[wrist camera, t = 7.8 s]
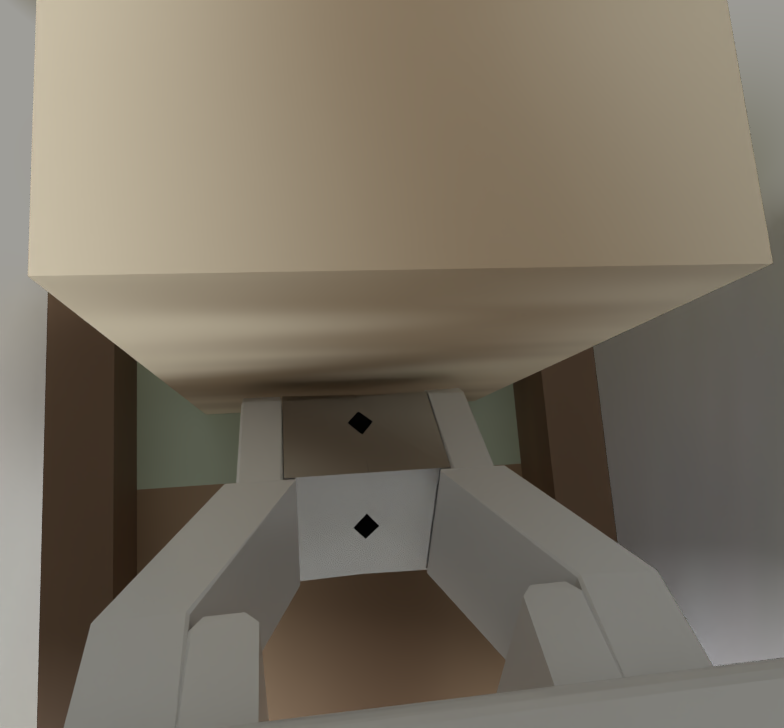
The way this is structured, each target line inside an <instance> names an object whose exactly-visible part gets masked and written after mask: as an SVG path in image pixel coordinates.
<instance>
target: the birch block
mask: <svg viewBox="0 0 784 728" xmlns="http://www.w3.org/2000/svg"><path fill="white" fill-rule="evenodd" d="M35 34H36V35H35V64H34V97H33V127H32V159H31V193H30V222H29V223H30V224H29V254H28V277H30V278H31V279H32V280H33V281H35V282H36V283H37V284H39V285H40V286H41V287H42V288H44V289H45V290H46V291H48V292H49V293H50V294H51V295H53V296H54V297H55V298H57V299H58V300H59V301H60V302H62V303H63V304H64V305H66V306H67V307H68V308H69V309H71V310H72V311H73V312H75V313H76V314H77V315H78V316H80V317H81V318H82V319H84V320H85V321H86V322H87V323H89V324H90V325H91V326H93V327H94V328H95V329H96V330H98V331H99V332H100V333H102V334H103V335H104V336H105V337H107V338H108V339H109V340H111V341H112V342H113V343H114V344H116V345H117V346H118V347H120V348H121V349H122V350H123V351H125V352H126V353H127V354H129V355H130V356H131V357H132V358H134V359H135V360H136V361H138V362H139V363H140V364H141V365H143V366H144V367H145V368H147V369H148V370H149V371H150V372H152V373H153V374H154V375H156V376H157V377H158V378H159V379H161V380H162V381H163V382H165V383H166V384H167V385H168V386H170V387H171V388H172V389H174V390H175V391H176V392H178V393H179V394H180V395H181V396H183V397H184V398H185V399H187V400H188V401H189V402H190V403H192V404H193V405H194V406H196V407H197V408H198V409H199V410H201V411H202V412H203V413H205V414H226V413H241V404H242V402H243V399H244V398H261V397H280V398H281V400H282V396H321V395H368V394H387V393H406V392H424V390H435V389H449V388H460V389H461V390H462V391H464V394H465V396H466V399H467V401H476V400H478V399H480V398H482V397H484V396H486V395H489V394H491V393H493V392H495V391H497V390H499V389H502V388H504V387H506V386H508V385H510V384H512V383H515V382H517V381H519V380H521V379H523V378H525V377H528V376H530V375H532V374H534V373H536V372H539V371H541V370H543V369H545V368H547V367H549V366H552V365H554V364H556V363H558V362H560V361H562V360H565V359H567V358H569V357H571V356H573V355H575V354H578V353H580V352H582V351H584V350H586V349H588V348H591V347H593V346H595V345H597V344H599V343H601V342H604V341H606V340H608V339H610V338H612V337H615V336H617V335H619V334H621V333H623V332H625V331H628V330H630V329H632V328H634V327H636V326H638V325H641V324H643V323H645V322H647V321H649V320H651V319H654V318H656V317H658V316H660V315H662V314H664V313H667V312H669V311H671V310H673V309H675V308H677V307H680V306H682V305H684V304H686V303H688V302H691V301H693V300H695V299H697V298H699V297H701V296H704V295H706V294H708V293H710V292H712V291H714V290H717V289H719V288H721V287H723V286H725V285H727V284H730V283H732V282H734V281H736V280H738V279H740V278H743V277H745V276H747V275H749V274H751V273H753V272H756V271H758V270H760V269H762V268H764V267H767V266H769V265H771V264H773V260H772V254H771V249H770V243H769V237H768V231H767V226H766V220H765V214H764V209H763V203H762V197H761V191H760V186H759V180H758V174H757V169H756V163H755V157H754V151H753V146H752V141H751V134H750V129H749V123H748V118H747V111H746V106H745V100H744V95H743V89H742V83H741V77H740V72H739V66H738V60H737V54H736V49H735V43H734V38H733V31H732V26H731V20H730V14H729V9H728V3H727V0H37V1H36V33H35Z"/></svg>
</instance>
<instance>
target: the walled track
mask: <svg viewBox="0 0 784 728" xmlns="http://www.w3.org/2000/svg"><path fill="white" fill-rule="evenodd" d="M468 404H469V406H470V409H471V411H472V413H473V416H474V418H475V421H476V423H477V426H478V428H479V430H480V433H481V435H482V438H483V440H484V443H485V445H486V448H487V450H488V452H489V455H490V457H491V460H492V462H493V465H494V466H501V465H505V466H506V467H508V468H509V469H511V470H512V471H514V472H515V473H516V474H518V475H519V476H521V477H522V478H524V479H525V480H527V481H528V482H530V483H531V484H532V485H534V486H535V487H537V488H538V489H540V490H541V491H543V492H544V493H545V494H547V495H548V496H550V497H551V498H553V499H554V500H556V501H557V502H559V503H560V504H561V505H563V506H564V507H566V508H567V509H569V510H570V511H572V512H573V513H575V514H576V515H577V516H579V517H580V518H582V519H583V520H585V521H586V522H588V523H589V524H591V525H592V526H593V527H595V528H596V529H598V530H599V531H601V532H602V533H604V534H605V535H606V536H608V537H609V538H611V539H612V540H614V541H615V542H617V535H616V527H615V519H614V511H613V503H612V495H611V487H610V479H609V471H608V463H607V455H606V447H605V439H604V431H603V423H602V415H601V407H600V399H599V391H598V384H597V376H596V368H595V360H594V352H593V347H591V348H588V349H586V350H584V351H582V352H580V353H578V354H575V355H573V356H571V357H569V358H567V359H565V360H562V361H560V362H558V363H556V364H554V365H552V366H549V367H547V368H545V369H543V370H541V371H539V372H536V373H534V374H532V375H530V376H528V377H525V378H523V379H521V380H519V381H517V382H515V383H512V384H510V385H508V386H506V387H504V388H502V389H499V390H497V391H495V392H493V393H491V394H489V395H486V396H484V397H482V398H480V399H478V400H476V401H468ZM240 416H241V413H226V414H205V413H203V412H202V411H201V410H199V409H198V408H197V407H196V406H194V405H193V404H192V403H190V402H189V401H188V400H187V399H185V398H184V397H183V396H181V395H180V394H179V393H178V392H176V391H175V390H174V389H172V388H171V387H170V386H168V385H167V384H166V383H165V382H163V381H162V380H161V379H159V378H158V377H157V376H156V375H154V374H153V373H152V372H150V371H149V370H148V369H147V368H145V367H144V366H143V365H141V364H140V363H139V362H138V361H136V360H135V359H134V358H132V357H131V356H130V355H129V354H127V353H126V352H125V351H123V350H122V349H121V348H120V347H118V346H117V345H116V344H114V343H113V342H112V341H111V340H109V339H108V338H107V337H105V336H104V335H103V334H102V333H100V332H99V331H98V330H96V329H95V328H94V327H93V326H91V325H90V324H89V323H87V322H86V321H85V320H84V319H82V318H81V317H80V316H78V315H77V314H76V313H75V312H73V311H72V310H71V309H69V308H68V307H67V306H66V305H64V304H63V303H62V302H60V301H59V300H58V299H57V298H55V297H54V296H53V295H51V294H50V293H49V292H48V311H47V350H46V390H45V429H44V469H43V508H42V548H41V587H40V627H39V667H38V706H37V728H64V724H65V721H66V717H67V713H68V709H69V705H70V702H71V698H72V694H73V690H74V686H75V683H76V679H77V675H78V671H79V667H80V663H81V660H82V656H83V652H84V648H85V644H86V641H87V637H88V633H89V629H90V625H91V623H92V622H93V621H94V620H95V619H96V618H97V617H98V616H99V615H100V614H101V612H102V611H103V610H104V609H105V608H106V607H107V606H108V605H109V604H110V603H111V602H112V601H113V600H114V599H115V598H116V597H117V596H118V595H119V594H120V593H121V592H122V591H123V589H124V588H125V587H126V586H127V585H128V584H129V583H130V582H131V581H132V580H133V579H134V578H135V577H136V576H137V575H138V574H139V573H140V572H141V571H142V570H143V569H144V568H145V566H146V565H147V564H148V563H149V562H150V561H151V560H152V559H153V558H154V557H155V556H156V555H157V554H158V553H159V552H160V551H161V550H162V549H163V548H164V547H165V546H166V545H167V543H168V542H169V541H170V540H171V539H172V538H173V537H174V536H175V535H176V534H177V533H178V532H179V531H180V530H181V529H182V528H183V527H184V526H185V525H186V524H187V523H188V522H189V520H190V519H191V518H192V517H193V516H194V515H195V514H196V513H197V512H198V511H199V510H200V509H201V508H202V507H203V506H204V505H205V504H206V503H207V502H208V501H209V500H210V499H211V497H212V496H213V495H214V494H215V493H216V492H217V491H218V490H219V489H220V488H221V487H222V486H223V485H224V484H230V483H236V477H237V462H238V447H239V431H240ZM262 656H263V666H264V676H265V687H266V697H267V707H268V717H269V721H273V720H282V719H290V718H298V717H306V716H314V715H323V714H331V713H339V712H347V711H355V710H363V709H372V708H380V707H388V706H396V705H404V704H413V703H421V702H429V701H437V700H445V699H453V698H462V697H470V696H478V695H486V694H494V693H497V690H498V686H499V682H500V679H501V675H502V672H503V668H504V664H505V661H506V660H505V659H504V657H503V656H502V655H501V654H500V653H499V652H498V651H497V650H496V649H495V648H494V646H493V645H492V644H491V643H490V642H489V641H488V640H487V639H486V638H485V636H484V635H483V634H482V633H481V632H480V631H479V630H478V629H477V628H476V627H475V625H474V624H473V623H472V622H471V621H470V620H469V619H468V618H467V617H466V615H465V614H464V613H463V612H462V611H461V610H460V609H459V608H458V607H457V605H456V604H455V603H454V602H453V601H452V600H451V599H450V598H449V597H448V596H447V594H446V593H445V592H444V591H443V590H442V589H441V588H440V587H439V586H438V584H437V583H436V582H435V581H434V580H433V579H432V578H431V577H430V576H429V575H428V573H427V570H415V571H399V572H383V573H368V574H357V575H349V576H340V577H332V578H323V579H315V580H306V581H300V586H299V588H298V590H297V592H296V593H295V595H294V597H293V599H292V600H291V602H290V604H289V606H288V607H287V609H286V611H285V613H284V614H283V616H282V618H281V619H280V621H279V623H278V625H277V626H276V628H275V630H274V632H273V633H272V635H271V637H270V639H269V640H268V642H267V644H266V646H265V647H264V649H263V651H262Z"/></svg>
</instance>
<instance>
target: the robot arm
mask: <svg viewBox="0 0 784 728" xmlns="http://www.w3.org/2000/svg"><path fill="white" fill-rule="evenodd" d="M415 570H427V573H428V575H429V576H430V577H431V578H432V579H433V580H434V581H435V582H436V583H437V584H438V586H439V587H440V588H441V589H442V590H443V591H444V592H445V593H446V594H447V596H448V597H449V598H450V599H451V600H452V601H453V602H454V603H455V604H456V605H457V607H458V608H459V609H460V610H461V611H462V612H463V613H464V614H465V615H466V617H467V618H468V619H469V620H470V621H471V622H472V623H473V624H474V625H475V627H476V628H477V629H478V630H479V631H480V632H481V633H482V634H483V635H484V636H485V638H486V639H487V640H488V641H489V642H490V643H491V644H492V645H493V646H494V648H495V649H496V650H497V651H498V652H499V653H500V654H501V655H502V656H503V657H504V659H505V660H506V661H505V664H504V668H503V672H502V675H501V679H500V682H499V686H498V690H497V693H494V694H486V695H478V696H470V697H462V698H453V699H445V700H437V701H429V702H421V703H413V704H404V705H396V706H388V707H380V708H372V709H363V710H355V711H347V712H339V713H331V714H323V715H314V716H306V717H298V718H290V719H282V720H273V721H269V717H268V707H267V697H266V687H265V676H264V666H263V656H262V651H263V649H264V647H265V646H266V644H267V642H268V640H269V639H270V637H271V635H272V633H273V632H274V630H275V628H276V626H277V625H278V623H279V621H280V619H281V618H282V616H283V614H284V613H285V611H286V609H287V607H288V606H289V604H290V602H291V600H292V599H293V597H294V595H295V593H296V592H297V590H298V588H299V586H300V581H306V580H315V579H323V578H332V577H340V576H349V575H357V574H368V573H383V572H399V571H415ZM64 728H784V658H777V659H768V660H760V661H752V662H744V663H736V664H728V665H720V666H713V665H712V663H711V662H710V660H709V658H708V656H707V655H706V653H705V651H704V650H703V648H702V646H701V644H700V643H699V641H698V639H697V638H696V636H695V634H694V632H693V631H692V629H691V627H690V626H689V624H688V622H687V621H686V619H685V617H684V615H683V614H682V612H681V610H680V609H679V607H678V605H677V603H676V602H675V600H674V598H673V597H672V595H671V593H670V591H669V590H668V588H667V586H666V585H665V583H664V581H663V579H662V578H661V576H660V574H659V573H658V571H657V570H656V569H654V568H653V567H652V566H650V565H649V564H647V563H646V562H644V561H643V560H641V559H640V558H638V557H637V556H636V555H634V554H633V553H631V552H630V551H628V550H627V549H625V548H624V547H622V546H621V545H620V544H618V543H617V542H615V541H614V540H612V539H611V538H609V537H608V536H606V535H605V534H604V533H602V532H601V531H599V530H598V529H596V528H595V527H593V526H592V525H591V524H589V523H588V522H586V521H585V520H583V519H582V518H580V517H579V516H577V515H576V514H575V513H573V512H572V511H570V510H569V509H567V508H566V507H564V506H563V505H561V504H560V503H559V502H557V501H556V500H554V499H553V498H551V497H550V496H548V495H547V494H545V493H544V492H543V491H541V490H540V489H538V488H537V487H535V486H534V485H532V484H531V483H530V482H528V481H527V480H525V479H524V478H522V477H521V476H519V475H518V474H516V473H515V472H514V471H512V470H511V469H509V468H508V467H506V466H505V465H501V466H494V465H493V462H492V460H491V457H490V455H489V452H488V450H487V448H486V445H485V443H484V440H483V438H482V435H481V433H480V430H479V428H478V426H477V423H476V421H475V418H474V416H473V413H472V411H471V409H470V406H469V404H468V401H467V399H466V396H465V394H464V391H462V390H461V389H460V388H449V389H435V390H424V392H406V393H387V394H368V395H321V396H282V400H281V398H280V397H261V398H244V399H243V402H242V404H241V416H240V431H239V447H238V462H237V477H236V483H230V484H224V485H223V486H222V487H221V488H220V489H219V490H218V491H217V492H216V493H215V494H214V495H213V496H212V497H211V499H210V500H209V501H208V502H207V503H206V504H205V505H204V506H203V507H202V508H201V509H200V510H199V511H198V512H197V513H196V514H195V515H194V516H193V517H192V518H191V519H190V520H189V522H188V523H187V524H186V525H185V526H184V527H183V528H182V529H181V530H180V531H179V532H178V533H177V534H176V535H175V536H174V537H173V538H172V539H171V540H170V541H169V542H168V543H167V545H166V546H165V547H164V548H163V549H162V550H161V551H160V552H159V553H158V554H157V555H156V556H155V557H154V558H153V559H152V560H151V561H150V562H149V563H148V564H147V565H146V566H145V568H144V569H143V570H142V571H141V572H140V573H139V574H138V575H137V576H136V577H135V578H134V579H133V580H132V581H131V582H130V583H129V584H128V585H127V586H126V587H125V588H124V589H123V591H122V592H121V593H120V594H119V595H118V596H117V597H116V598H115V599H114V600H113V601H112V602H111V603H110V604H109V605H108V606H107V607H106V608H105V609H104V610H103V611H102V612H101V614H100V615H99V616H98V617H97V618H96V619H95V620H94V621H93V622H92V623H91V625H90V629H89V633H88V637H87V641H86V644H85V648H84V652H83V656H82V660H81V663H80V667H79V671H78V675H77V679H76V683H75V686H74V690H73V694H72V698H71V702H70V705H69V709H68V713H67V717H66V721H65V724H64Z"/></svg>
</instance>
